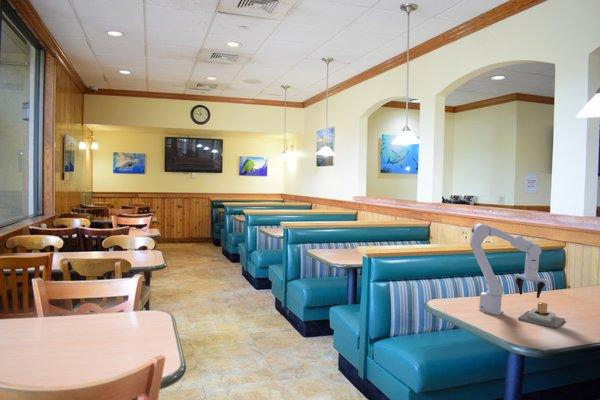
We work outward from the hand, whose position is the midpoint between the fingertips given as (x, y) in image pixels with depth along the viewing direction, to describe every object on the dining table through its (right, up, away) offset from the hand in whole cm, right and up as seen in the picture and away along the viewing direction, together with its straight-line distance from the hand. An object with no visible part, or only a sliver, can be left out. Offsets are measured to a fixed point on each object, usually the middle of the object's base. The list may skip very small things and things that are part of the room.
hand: (529, 295), depth 220 cm
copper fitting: (+2, -9, -7) cm, 12 cm away
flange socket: (+2, -10, -7) cm, 12 cm away
